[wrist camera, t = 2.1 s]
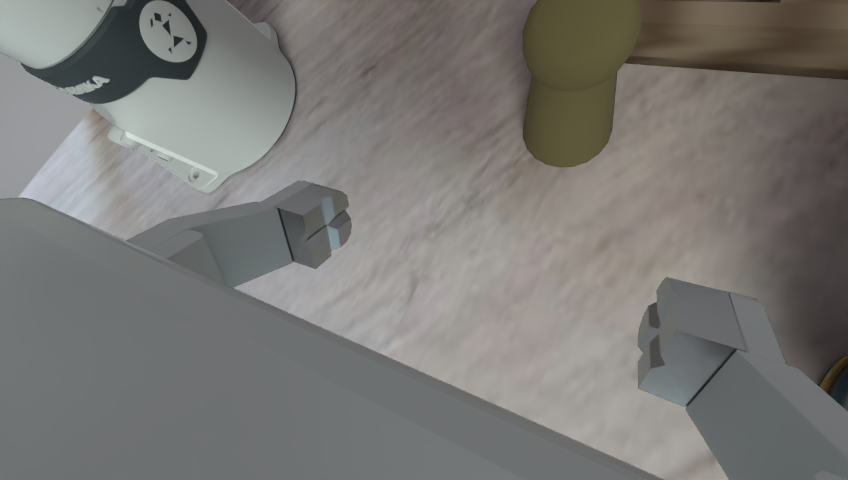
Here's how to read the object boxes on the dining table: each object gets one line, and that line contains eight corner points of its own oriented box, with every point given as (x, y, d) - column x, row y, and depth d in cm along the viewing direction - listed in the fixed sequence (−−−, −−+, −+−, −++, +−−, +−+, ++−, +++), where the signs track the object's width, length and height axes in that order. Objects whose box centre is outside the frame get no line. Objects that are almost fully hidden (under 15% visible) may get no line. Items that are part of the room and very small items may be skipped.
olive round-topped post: (546, 80, 27) (550, -65, 16) (628, 105, 24) (691, -45, 14) (508, 149, 26) (487, 47, 16) (586, 180, 24) (619, 84, 14)
